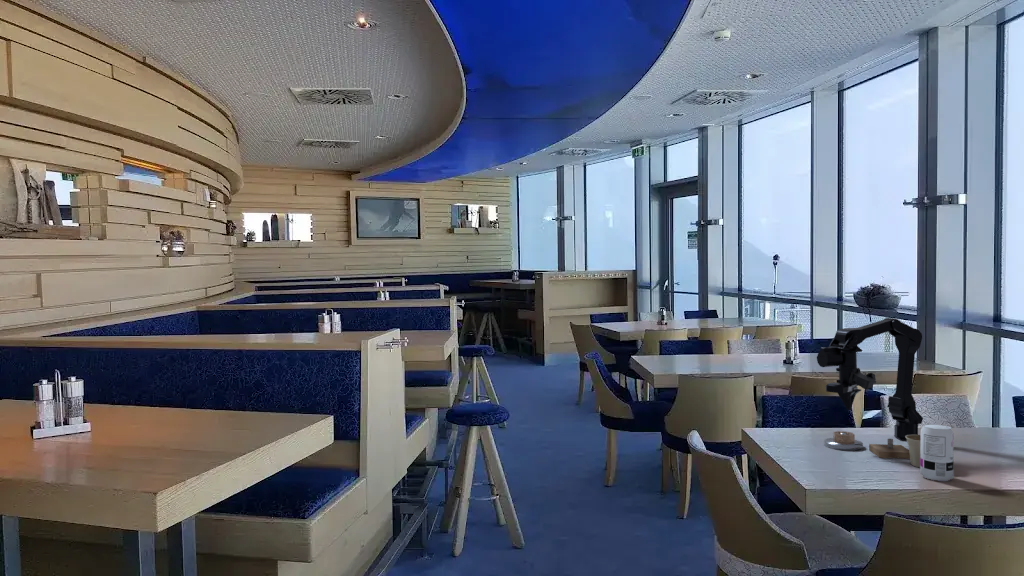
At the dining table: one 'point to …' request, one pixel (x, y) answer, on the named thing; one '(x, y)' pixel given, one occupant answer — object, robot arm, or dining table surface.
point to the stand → (889, 450)
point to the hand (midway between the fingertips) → (848, 409)
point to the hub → (843, 445)
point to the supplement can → (937, 452)
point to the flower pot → (914, 449)
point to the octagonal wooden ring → (843, 437)
